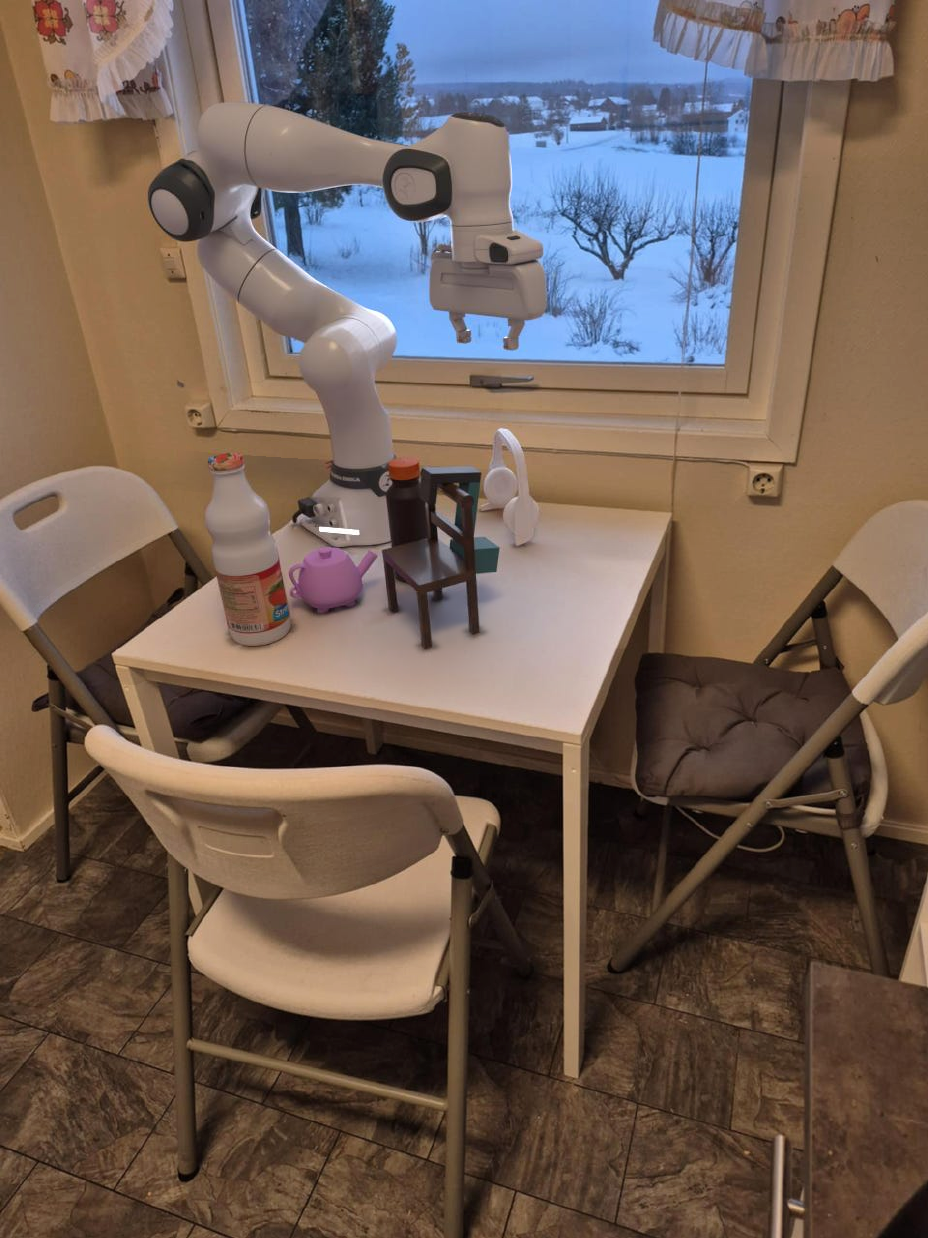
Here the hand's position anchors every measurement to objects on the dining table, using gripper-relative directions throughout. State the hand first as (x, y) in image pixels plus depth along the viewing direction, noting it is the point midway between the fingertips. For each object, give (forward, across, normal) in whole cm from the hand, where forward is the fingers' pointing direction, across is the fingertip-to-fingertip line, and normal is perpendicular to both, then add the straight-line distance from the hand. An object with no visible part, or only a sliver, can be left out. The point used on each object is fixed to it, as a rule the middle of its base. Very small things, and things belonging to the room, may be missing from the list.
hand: (487, 345), depth 127 cm
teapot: (+37, -13, -24) cm, 46 cm away
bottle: (+37, -10, -10) cm, 40 cm away
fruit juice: (+37, -15, -38) cm, 55 cm away
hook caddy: (+30, +6, -14) cm, 33 cm away
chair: (+37, +4, -19) cm, 42 cm away
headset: (+37, -10, +15) cm, 41 cm away
